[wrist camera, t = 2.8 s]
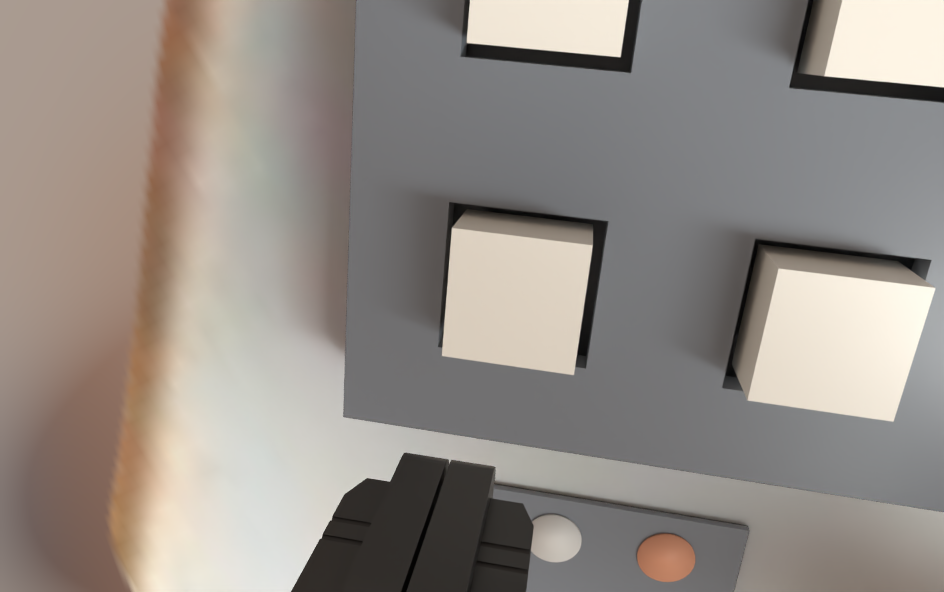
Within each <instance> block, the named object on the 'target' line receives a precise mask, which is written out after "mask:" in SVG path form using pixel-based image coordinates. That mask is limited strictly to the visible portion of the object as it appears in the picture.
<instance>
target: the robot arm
mask: <svg viewBox="0 0 944 592" xmlns="http://www.w3.org/2000/svg"><path fill="white" fill-rule="evenodd" d="M494 481H495V467H493V466H487V465H481V464H474V463H468V462H462V461H455V460H451V462H450V464H449V460H448V459H442V458H435V457H429V456H423V455H416V454H410V453H404V454H403V456H402V458H401V460H400V462H399V464H398V466H397V468H396V471H395V473H394V475H393V477H392V479H391V481H390V482H387V481H381V480H375V479H369V478H367V479H365V480H364V481H363V482H361V483H360V484H358V485H357V486H356V487H354V488H353V489H352V490H350V491H349V492H347V493H346V494H345V495H344V496H343V498H342V500H341V502H340V504H339V505H338V507H337V509H336V511H335V513H334V515H333V517H332V521H330V522H329V524H328V525H327V527H326V529H325V531H324V533H323V536H322V539H320V540H319V542H318V544H317V546H316V547H315V549H314V551H313V553H312V555H311V556H310V558H309V560H308V562H307V564H306V566H305V567H304V569H303V571H302V573H301V575H300V576H299V578H298V580H297V582H296V584H295V586H294V587H293V589H292V591H291V592H526V588H527V580H528V571H529V563H530V554H531V546H532V537H533V529H534V525H533V523H532V521H531V519H530V517H529V515H528V513H527V511H526V509H525V507H524V504H523V503H517V502H511V501H505V500H499V499H493V490H494Z"/></svg>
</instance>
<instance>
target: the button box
mask: <svg viewBox="0 0 944 592" xmlns="http://www.w3.org/2000/svg"><path fill="white" fill-rule="evenodd" d="M812 5H813V0H629V3H628V9H627V16H626V23H625V30H624V37H623V44H622V50H621V57H612V56H601V55H591V54H580V53H569V52H558V51H548V50H537V49H526V48H515V47H505V46H494V45H483V44H472V43H467V32H468V19H469V6H470V0H356V25H355V57H354V89H353V121H352V154H351V186H350V218H349V250H348V283H347V315H346V347H345V379H344V412H343V417H346V418H353V419H359V420H365V421H372V422H378V423H384V424H390V425H397V426H403V427H409V428H416V429H422V430H428V431H435V432H441V433H447V434H454V435H460V436H466V437H472V438H479V439H485V440H491V441H498V442H504V443H510V444H517V445H523V446H529V447H536V448H542V449H548V450H555V451H561V452H567V453H573V454H580V455H586V456H592V457H599V458H605V459H611V460H618V461H624V462H630V463H637V464H643V465H649V466H655V467H662V468H668V469H674V470H681V471H687V472H693V473H700V474H706V475H712V476H719V477H725V478H731V479H737V480H744V481H750V482H756V483H763V484H769V485H775V486H782V487H788V488H794V489H801V490H807V491H813V492H819V493H826V494H832V495H838V496H845V497H851V498H857V499H864V500H870V501H876V502H883V503H889V504H895V505H901V506H908V507H914V508H920V509H927V510H933V511H939V512H944V87H935V86H924V85H913V84H903V83H892V82H881V81H870V80H860V79H849V78H838V77H827V76H819V75H811V74H803V73H797V71H798V67H799V63H800V58H801V54H802V49H803V45H804V40H805V36H806V31H807V27H808V23H809V18H810V14H811V9H812ZM467 209H470V210H479V211H487V212H495V213H504V214H512V215H520V216H529V217H537V218H545V219H553V220H562V221H570V222H578V223H587V224H593V248H592V255H591V262H590V269H589V275H588V282H587V289H586V296H585V303H584V310H583V316H582V323H581V330H580V337H579V344H578V350H577V357H576V364H575V371H574V375H569V374H562V373H555V372H548V371H541V370H535V369H528V368H521V367H514V366H507V365H500V364H493V363H487V362H480V361H473V360H466V359H459V358H452V357H445V356H442V347H443V335H444V322H445V309H446V297H447V284H448V271H449V259H450V246H451V234H452V227H453V226H454V225H455V223H456V222H457V221H458V220H459V218H460V217H461V216H462V215H463V213H464V212H465V211H466V210H467ZM759 244H761V245H769V246H777V247H786V248H794V249H802V250H810V251H819V252H827V253H835V254H844V255H852V256H860V257H868V258H877V259H885V260H893V261H898V262H900V263H901V264H903V265H904V266H905V267H907V268H908V269H910V270H911V271H912V272H914V273H915V274H917V275H918V276H919V277H921V278H922V279H924V280H925V281H926V282H928V283H929V284H931V285H932V286H934V287H935V292H934V295H933V298H932V301H931V304H930V308H929V311H928V314H927V317H926V320H925V323H924V327H923V330H922V333H921V336H920V339H919V342H918V346H917V349H916V352H915V355H914V358H913V361H912V365H911V368H910V371H909V374H908V377H907V380H906V384H905V387H904V390H903V393H902V396H901V400H900V403H899V406H898V409H897V412H896V415H895V419H894V422H892V421H885V420H878V419H871V418H864V417H857V416H850V415H843V414H837V413H830V412H823V411H816V410H809V409H802V408H795V407H789V406H782V405H775V404H768V403H761V402H754V401H747V398H746V396H745V394H744V391H743V389H742V387H741V384H740V382H739V380H738V377H737V375H736V373H735V371H734V368H733V366H732V360H733V356H734V352H735V347H736V343H737V338H738V334H739V329H740V325H741V320H742V316H743V312H744V307H745V303H746V298H747V294H748V289H749V285H750V280H751V276H752V272H753V267H754V263H755V258H756V254H757V249H758V245H759Z"/></svg>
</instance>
